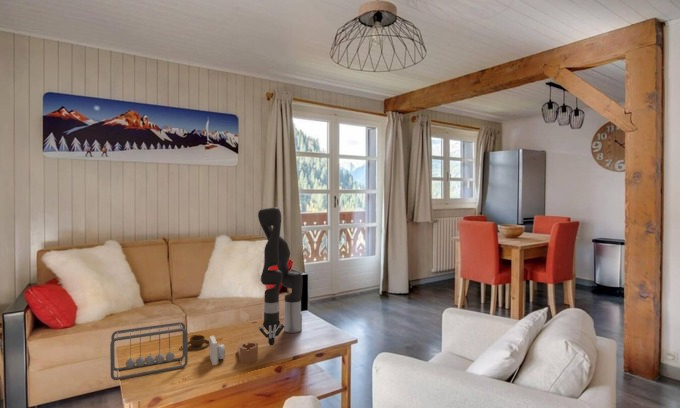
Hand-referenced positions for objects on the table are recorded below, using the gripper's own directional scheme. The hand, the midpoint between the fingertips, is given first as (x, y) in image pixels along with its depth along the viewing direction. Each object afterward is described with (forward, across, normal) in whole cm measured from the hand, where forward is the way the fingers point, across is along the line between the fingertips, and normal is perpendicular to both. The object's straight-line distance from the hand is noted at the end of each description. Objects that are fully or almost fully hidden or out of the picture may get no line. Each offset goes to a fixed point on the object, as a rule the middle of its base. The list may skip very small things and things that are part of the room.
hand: (271, 344), depth 197 cm
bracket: (+4, +12, 0) cm, 12 cm away
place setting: (+4, +33, -18) cm, 37 cm away
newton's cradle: (+3, +54, -2) cm, 54 cm away
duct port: (+3, +26, 0) cm, 26 cm away
